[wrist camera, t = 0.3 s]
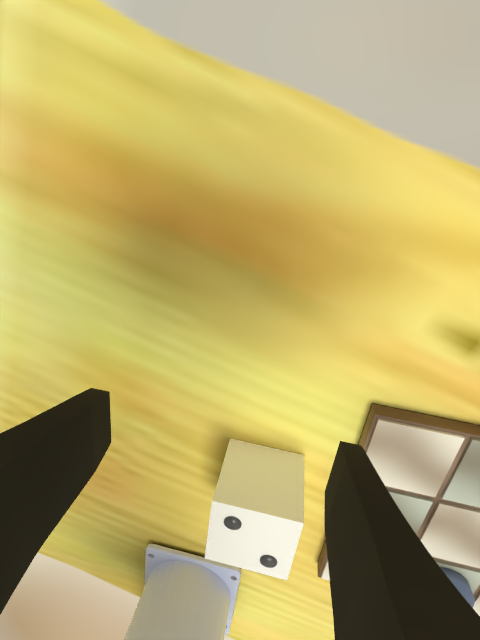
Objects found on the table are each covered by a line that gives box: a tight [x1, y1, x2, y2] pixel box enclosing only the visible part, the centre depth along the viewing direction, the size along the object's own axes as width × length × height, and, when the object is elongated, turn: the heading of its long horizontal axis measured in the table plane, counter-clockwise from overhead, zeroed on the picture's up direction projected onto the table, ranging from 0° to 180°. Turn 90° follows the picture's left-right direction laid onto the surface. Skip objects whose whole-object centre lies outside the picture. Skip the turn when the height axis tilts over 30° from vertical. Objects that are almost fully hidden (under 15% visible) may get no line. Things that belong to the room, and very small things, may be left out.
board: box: [318, 404, 480, 616], centre depth 22 cm, size 15×15×1 cm
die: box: [205, 438, 304, 580], centre depth 22 cm, size 5×5×5 cm
